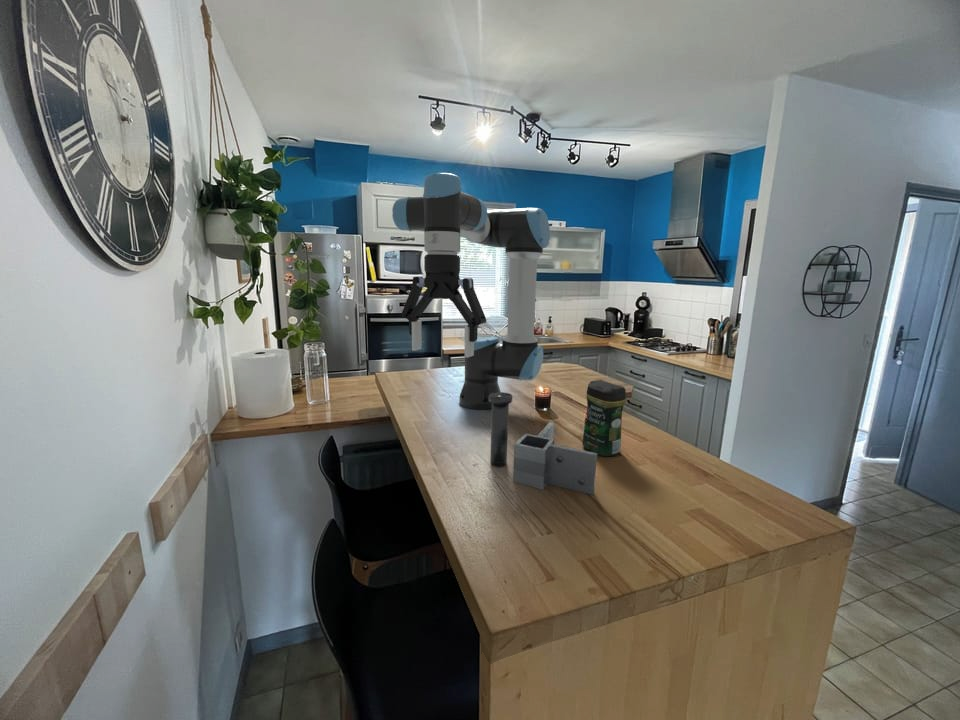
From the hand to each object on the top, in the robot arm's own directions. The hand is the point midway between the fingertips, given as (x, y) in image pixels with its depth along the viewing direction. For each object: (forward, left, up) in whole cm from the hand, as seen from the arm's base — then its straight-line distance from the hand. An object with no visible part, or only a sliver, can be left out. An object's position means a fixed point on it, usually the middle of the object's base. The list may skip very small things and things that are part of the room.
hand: (442, 353), depth 91 cm
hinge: (-11, +26, -28) cm, 39 cm away
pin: (-9, +11, -28) cm, 31 cm away
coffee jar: (-29, +32, -28) cm, 51 cm away
